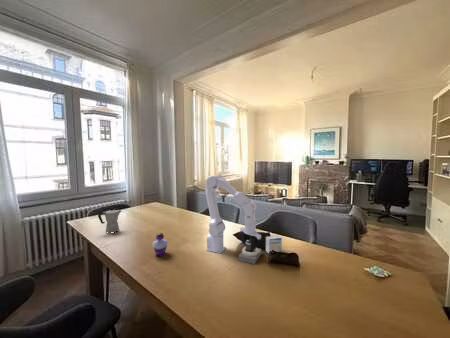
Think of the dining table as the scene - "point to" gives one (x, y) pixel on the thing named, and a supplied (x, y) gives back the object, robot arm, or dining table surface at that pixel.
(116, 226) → the coffeepot
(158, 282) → the dining table surface
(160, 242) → the potion bottle
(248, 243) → the lens
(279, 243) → the medicine box
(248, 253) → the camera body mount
